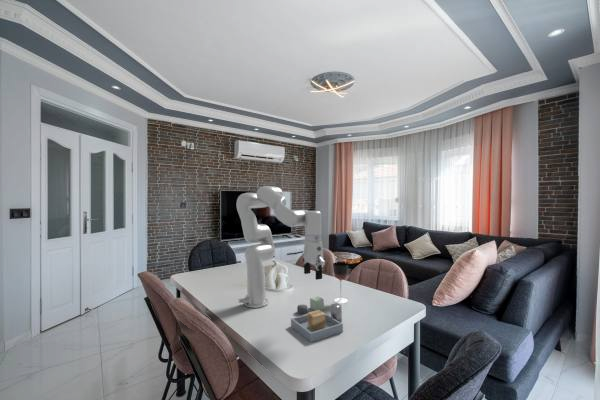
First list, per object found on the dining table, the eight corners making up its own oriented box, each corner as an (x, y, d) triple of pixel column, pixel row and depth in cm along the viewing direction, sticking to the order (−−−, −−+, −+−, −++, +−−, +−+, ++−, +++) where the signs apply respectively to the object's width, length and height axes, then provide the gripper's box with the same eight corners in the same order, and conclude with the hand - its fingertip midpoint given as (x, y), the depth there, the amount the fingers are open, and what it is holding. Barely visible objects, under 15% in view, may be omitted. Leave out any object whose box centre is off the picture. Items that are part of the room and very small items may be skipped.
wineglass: (339, 304, 143) (339, 266, 144) (330, 299, 151) (329, 263, 151) (351, 301, 147) (351, 264, 147) (342, 296, 155) (341, 261, 155)
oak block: (325, 327, 116) (325, 313, 116) (313, 331, 113) (313, 316, 113) (319, 323, 120) (319, 309, 120) (307, 326, 117) (307, 312, 117)
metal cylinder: (335, 324, 121) (335, 308, 121) (328, 320, 125) (328, 305, 125) (343, 321, 123) (343, 306, 123) (337, 317, 127) (336, 302, 128)
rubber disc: (300, 315, 131) (300, 309, 131) (295, 311, 135) (295, 305, 135) (309, 313, 133) (309, 307, 133) (304, 309, 138) (304, 303, 138)
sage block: (315, 311, 136) (315, 301, 136) (310, 307, 140) (310, 298, 140) (323, 308, 138) (323, 299, 138) (318, 305, 143) (318, 296, 143)
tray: (310, 342, 106) (310, 333, 106) (291, 326, 119) (290, 318, 119) (342, 331, 114) (342, 323, 114) (320, 317, 128) (320, 310, 128)
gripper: (331, 240, 116) (331, 280, 117) (310, 235, 132) (309, 270, 132) (316, 241, 113) (316, 282, 113) (296, 236, 128) (296, 272, 128)
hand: (312, 276), depth 122 cm, fingers open, 9 cm apart
